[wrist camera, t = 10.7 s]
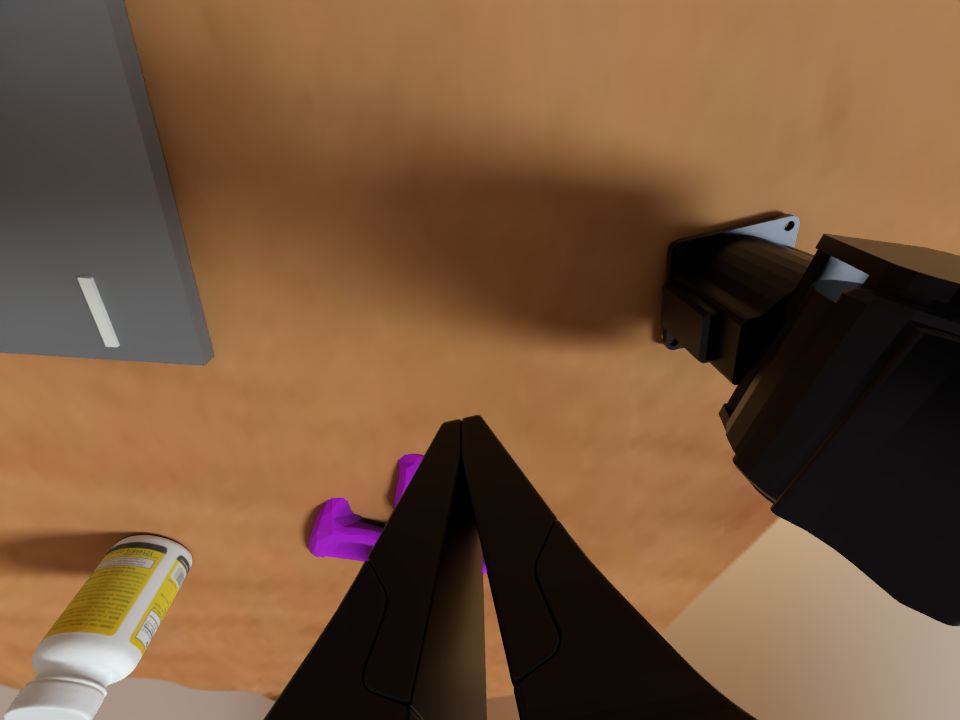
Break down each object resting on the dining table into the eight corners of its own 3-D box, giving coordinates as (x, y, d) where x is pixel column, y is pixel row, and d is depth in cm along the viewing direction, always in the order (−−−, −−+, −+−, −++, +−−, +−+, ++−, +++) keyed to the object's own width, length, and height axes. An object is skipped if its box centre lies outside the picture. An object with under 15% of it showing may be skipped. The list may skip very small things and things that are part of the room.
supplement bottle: (97, 548, 29) (-40, 720, 21) (151, 523, 28) (30, 692, 20) (159, 580, 32) (60, 744, 24) (210, 559, 31) (126, 721, 23)
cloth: (411, 618, 39) (406, 694, 34) (255, 535, 31) (217, 620, 25) (607, 525, 34) (637, 599, 29) (486, 391, 25) (497, 462, 20)
